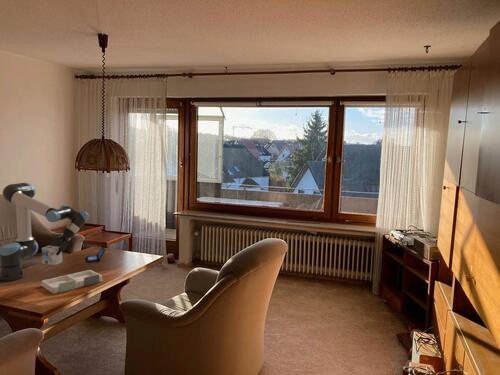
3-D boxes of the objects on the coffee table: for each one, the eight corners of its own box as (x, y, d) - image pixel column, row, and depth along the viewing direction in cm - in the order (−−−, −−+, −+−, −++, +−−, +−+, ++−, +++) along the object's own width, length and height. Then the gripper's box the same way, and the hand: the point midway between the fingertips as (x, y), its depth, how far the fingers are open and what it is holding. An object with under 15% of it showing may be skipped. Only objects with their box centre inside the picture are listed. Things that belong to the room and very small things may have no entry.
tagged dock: (53, 294, 243) (53, 285, 242) (41, 285, 256) (41, 277, 255) (104, 281, 267) (103, 273, 266) (90, 274, 280) (90, 267, 280)
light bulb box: (41, 263, 257) (41, 247, 256) (49, 260, 263) (48, 245, 262) (55, 265, 254) (54, 248, 253) (63, 262, 261) (62, 246, 260)
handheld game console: (86, 258, 322) (85, 247, 321) (103, 256, 327) (103, 245, 326) (87, 263, 308) (87, 251, 307) (105, 261, 313) (105, 250, 312)
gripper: (83, 236, 261) (60, 263, 251) (67, 231, 277) (45, 256, 267) (74, 229, 256) (51, 257, 246) (59, 225, 272) (36, 250, 262)
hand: (48, 257), depth 257 cm, fingers closed on light bulb box, 12 cm apart
